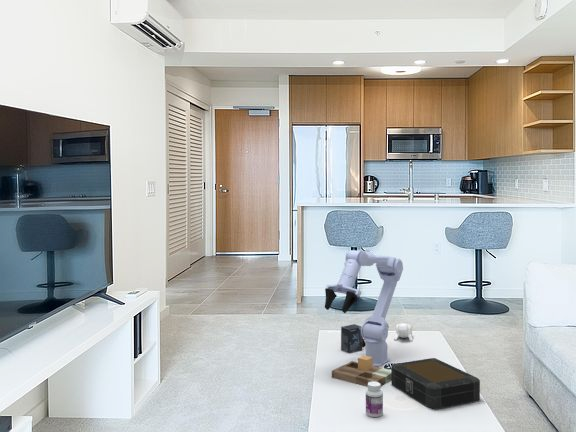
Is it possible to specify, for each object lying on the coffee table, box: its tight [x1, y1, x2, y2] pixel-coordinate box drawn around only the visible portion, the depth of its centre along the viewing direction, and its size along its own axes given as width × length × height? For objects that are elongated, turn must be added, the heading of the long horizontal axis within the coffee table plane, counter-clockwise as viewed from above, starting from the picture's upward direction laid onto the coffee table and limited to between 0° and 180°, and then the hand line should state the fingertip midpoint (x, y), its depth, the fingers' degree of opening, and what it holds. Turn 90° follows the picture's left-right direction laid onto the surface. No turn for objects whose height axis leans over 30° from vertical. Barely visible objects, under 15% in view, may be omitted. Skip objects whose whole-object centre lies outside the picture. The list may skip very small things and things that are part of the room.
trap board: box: [331, 360, 391, 388], centre depth 194 cm, size 14×19×2 cm
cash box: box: [390, 357, 481, 410], centre depth 179 cm, size 25×20×8 cm
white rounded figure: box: [393, 322, 413, 342], centre depth 243 cm, size 9×8×15 cm
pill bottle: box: [365, 382, 384, 418], centre depth 162 cm, size 5×5×10 cm
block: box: [357, 355, 374, 371], centre depth 197 cm, size 4×4×4 cm
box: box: [340, 323, 363, 354], centre depth 227 cm, size 8×6×11 cm
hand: (334, 310), depth 190 cm, fingers open, 7 cm apart
